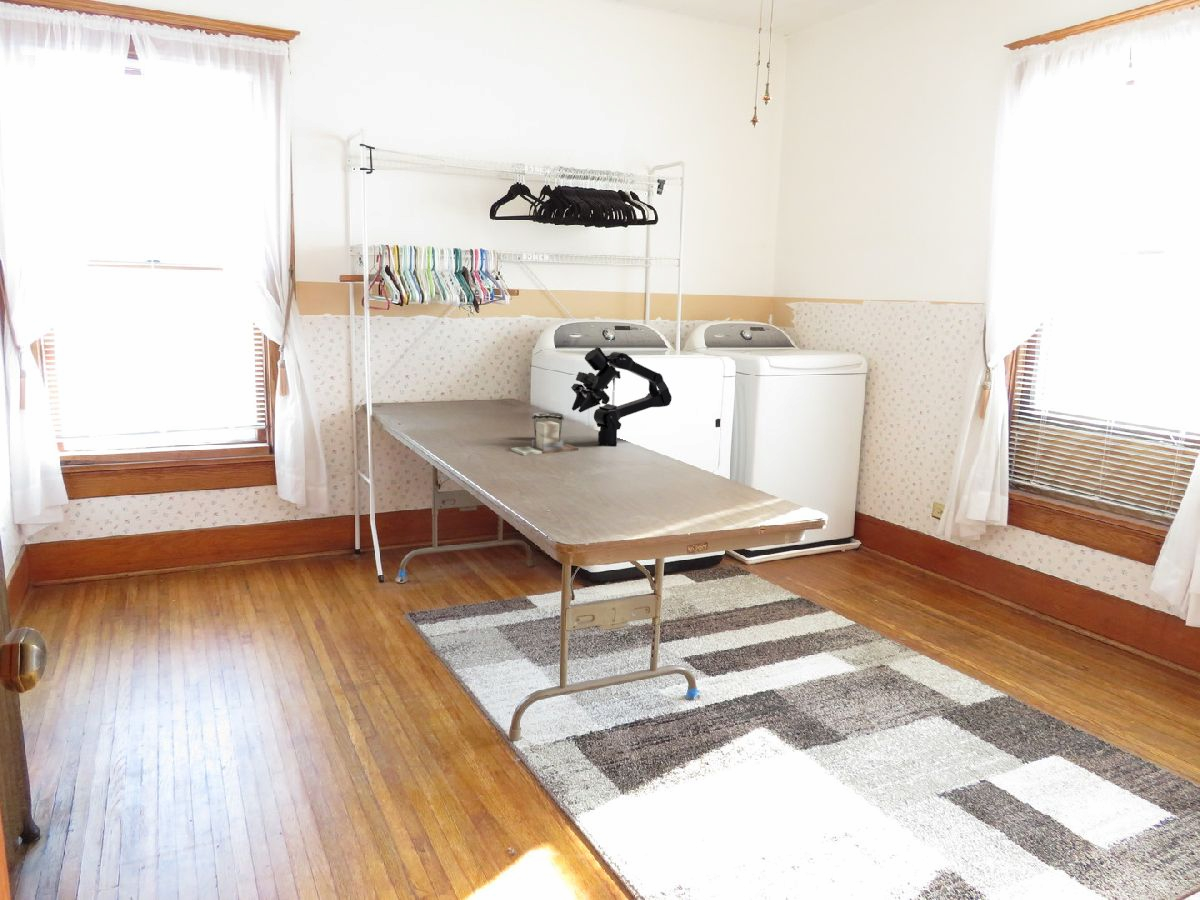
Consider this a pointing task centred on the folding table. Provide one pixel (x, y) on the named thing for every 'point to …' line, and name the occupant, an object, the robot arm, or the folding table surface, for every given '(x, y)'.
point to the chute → (544, 448)
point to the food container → (548, 419)
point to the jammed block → (546, 433)
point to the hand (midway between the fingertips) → (575, 410)
